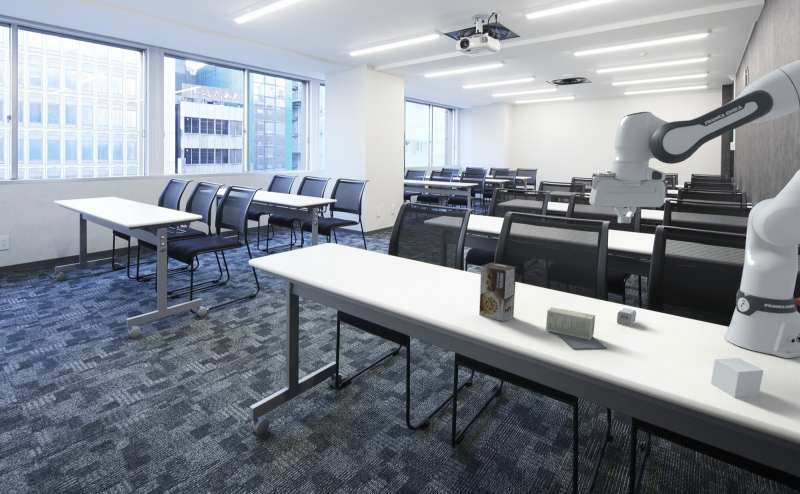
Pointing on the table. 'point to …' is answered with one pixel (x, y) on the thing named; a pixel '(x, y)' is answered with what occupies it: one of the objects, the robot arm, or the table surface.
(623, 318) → the usb wall charger
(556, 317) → the skincare box
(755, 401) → the table surface
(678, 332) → the table surface
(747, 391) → the light grey cube
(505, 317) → the coffee box
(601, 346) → the rubber mat
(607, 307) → the table surface
